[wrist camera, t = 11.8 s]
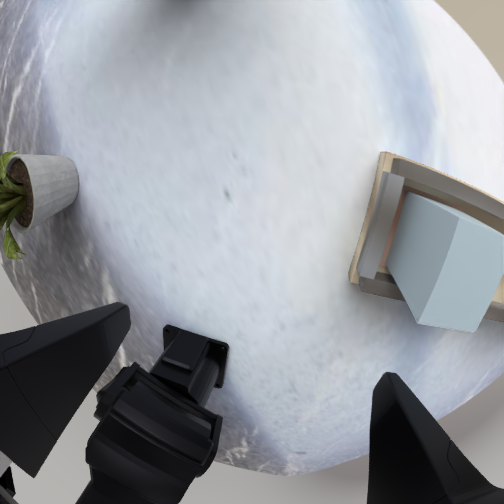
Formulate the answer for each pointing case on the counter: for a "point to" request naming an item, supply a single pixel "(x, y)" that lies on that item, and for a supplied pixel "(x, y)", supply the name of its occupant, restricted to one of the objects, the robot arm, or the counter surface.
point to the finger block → (445, 263)
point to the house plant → (33, 192)
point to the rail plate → (388, 212)
